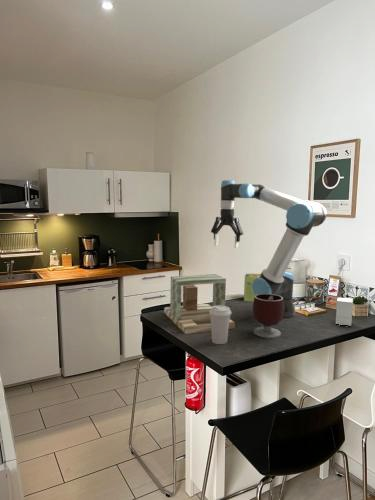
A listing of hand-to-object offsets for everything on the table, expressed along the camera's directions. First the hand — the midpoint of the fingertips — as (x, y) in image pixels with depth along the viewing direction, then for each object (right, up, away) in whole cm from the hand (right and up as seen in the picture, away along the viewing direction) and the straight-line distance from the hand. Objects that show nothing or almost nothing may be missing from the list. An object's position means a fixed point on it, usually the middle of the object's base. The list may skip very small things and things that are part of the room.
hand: (226, 246), depth 218 cm
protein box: (+21, -33, +21) cm, 44 cm away
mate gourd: (+15, -41, -38) cm, 58 cm away
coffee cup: (-8, -42, -49) cm, 65 cm away
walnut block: (-20, -33, -11) cm, 40 cm away
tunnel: (-17, -38, -21) cm, 46 cm away
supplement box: (+57, -39, -23) cm, 73 cm away
